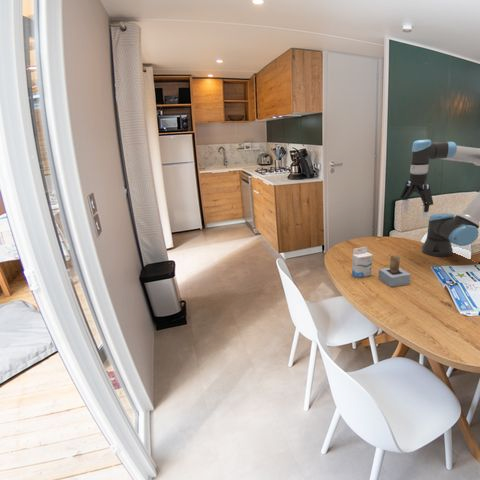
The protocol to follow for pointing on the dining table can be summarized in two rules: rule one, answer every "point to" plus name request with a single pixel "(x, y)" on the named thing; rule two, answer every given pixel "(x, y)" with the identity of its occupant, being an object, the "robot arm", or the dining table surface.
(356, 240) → the dining table surface
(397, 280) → the socket
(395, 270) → the peg
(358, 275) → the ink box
